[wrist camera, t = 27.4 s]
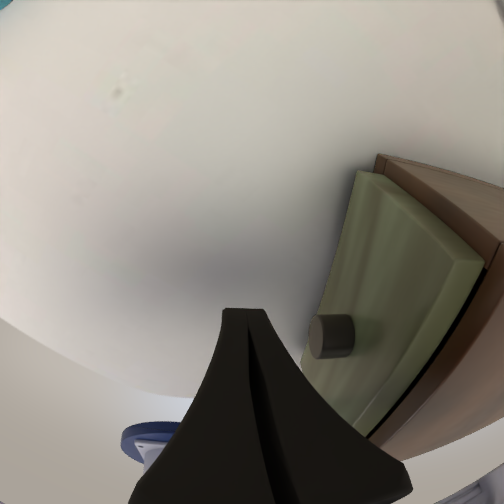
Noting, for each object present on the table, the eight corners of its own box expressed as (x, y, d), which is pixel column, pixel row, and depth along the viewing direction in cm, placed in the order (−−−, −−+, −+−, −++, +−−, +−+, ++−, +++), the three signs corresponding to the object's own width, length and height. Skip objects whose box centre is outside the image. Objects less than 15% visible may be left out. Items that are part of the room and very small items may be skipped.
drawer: (277, 362, 16) (296, 463, 11) (325, 164, 10) (414, 257, 5) (470, 341, 18) (506, 400, 13) (536, 213, 12) (598, 267, 7)
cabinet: (314, 355, 17) (347, 475, 11) (377, 152, 11) (521, 260, 4) (478, 335, 19) (522, 406, 12) (544, 204, 13) (618, 267, 6)
